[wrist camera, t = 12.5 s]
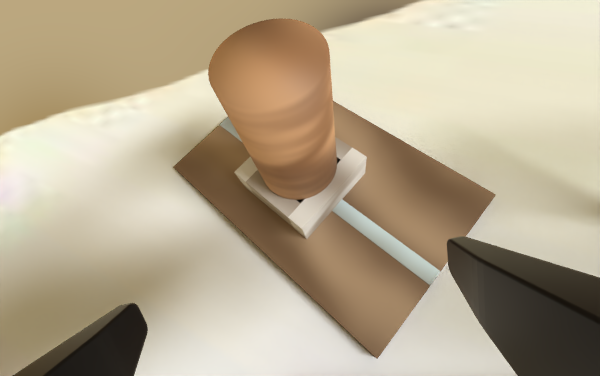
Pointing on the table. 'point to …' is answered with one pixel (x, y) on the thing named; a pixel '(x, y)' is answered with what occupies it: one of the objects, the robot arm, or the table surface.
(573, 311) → the robot arm
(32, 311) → the table surface
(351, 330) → the brown board with rail
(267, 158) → the tapered tan cup
